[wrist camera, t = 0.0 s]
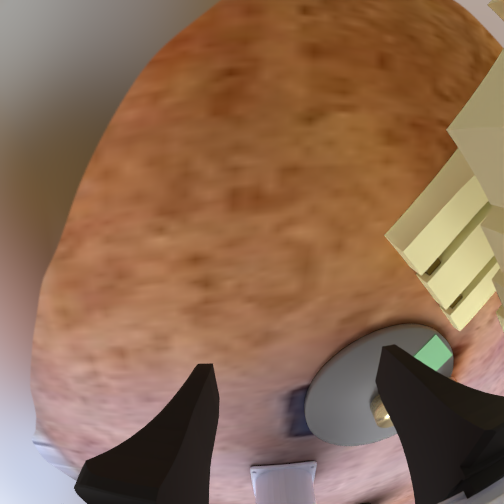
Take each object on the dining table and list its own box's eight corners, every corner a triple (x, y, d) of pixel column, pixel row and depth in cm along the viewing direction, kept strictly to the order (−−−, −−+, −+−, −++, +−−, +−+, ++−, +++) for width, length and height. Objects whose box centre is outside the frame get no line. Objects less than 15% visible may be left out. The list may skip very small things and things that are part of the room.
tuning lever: (367, 416, 24) (381, 454, 19) (373, 392, 23) (391, 431, 18) (448, 393, 24) (468, 423, 19) (457, 369, 23) (481, 398, 18)
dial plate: (425, 421, 27) (429, 427, 26) (301, 448, 27) (302, 456, 26) (464, 310, 22) (471, 316, 21) (306, 337, 22) (309, 345, 21)
